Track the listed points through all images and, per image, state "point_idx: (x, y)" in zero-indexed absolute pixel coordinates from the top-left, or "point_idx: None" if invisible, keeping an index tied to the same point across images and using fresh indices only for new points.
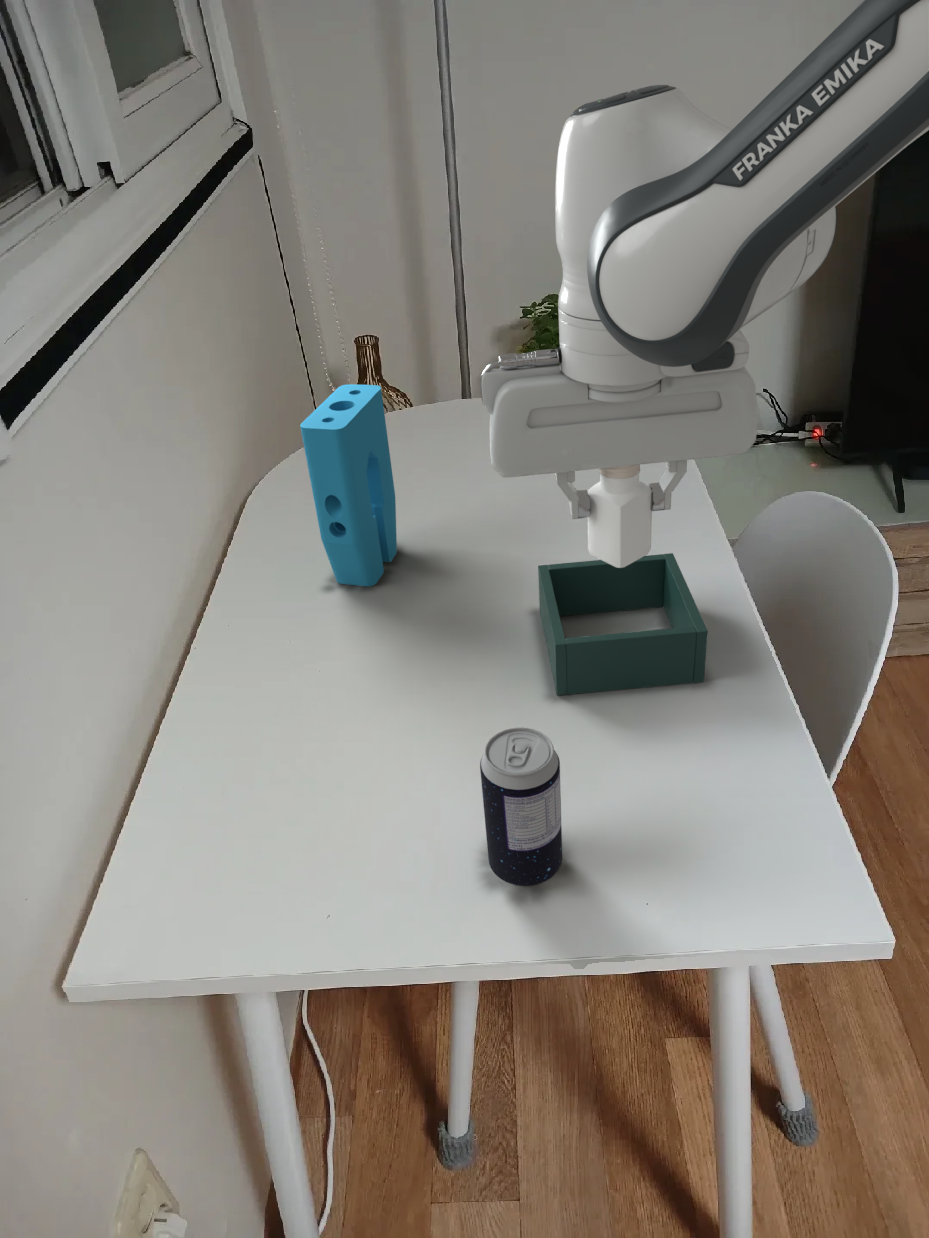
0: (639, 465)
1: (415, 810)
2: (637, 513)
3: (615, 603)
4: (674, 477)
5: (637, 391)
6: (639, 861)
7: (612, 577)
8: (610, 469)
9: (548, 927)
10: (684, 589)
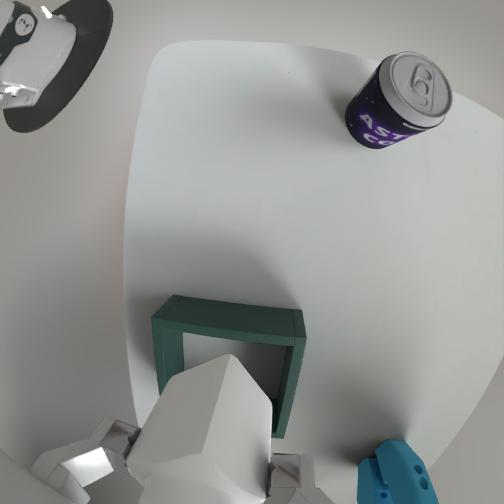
0: None
1: (434, 202)
2: (166, 430)
3: None
4: (67, 457)
5: None
6: (284, 105)
7: None
8: None
9: (359, 72)
10: (160, 377)
